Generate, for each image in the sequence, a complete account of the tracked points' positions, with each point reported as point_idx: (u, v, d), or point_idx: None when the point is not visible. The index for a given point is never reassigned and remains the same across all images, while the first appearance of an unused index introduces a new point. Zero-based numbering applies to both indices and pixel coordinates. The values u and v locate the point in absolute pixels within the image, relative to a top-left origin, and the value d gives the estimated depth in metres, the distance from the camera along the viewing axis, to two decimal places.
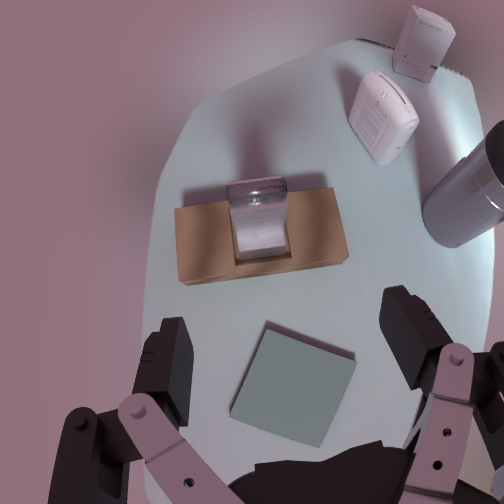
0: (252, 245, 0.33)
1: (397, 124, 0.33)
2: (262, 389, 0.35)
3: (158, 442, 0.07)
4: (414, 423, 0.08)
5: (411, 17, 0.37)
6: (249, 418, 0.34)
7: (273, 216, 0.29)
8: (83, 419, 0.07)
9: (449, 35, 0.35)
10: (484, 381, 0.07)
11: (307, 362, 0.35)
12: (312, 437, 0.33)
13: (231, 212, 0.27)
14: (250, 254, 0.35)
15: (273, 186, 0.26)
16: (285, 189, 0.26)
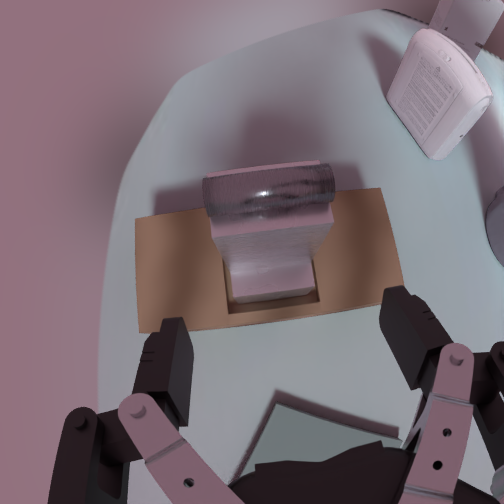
0: (256, 286, 0.19)
1: (467, 101, 0.19)
2: None
3: (158, 442, 0.07)
4: (414, 423, 0.08)
5: None
6: None
7: (299, 241, 0.15)
8: (83, 419, 0.07)
9: (498, 7, 0.21)
10: (484, 381, 0.07)
11: (334, 447, 0.21)
12: None
13: (214, 236, 0.12)
14: (253, 298, 0.20)
15: (306, 181, 0.11)
16: (331, 188, 0.12)
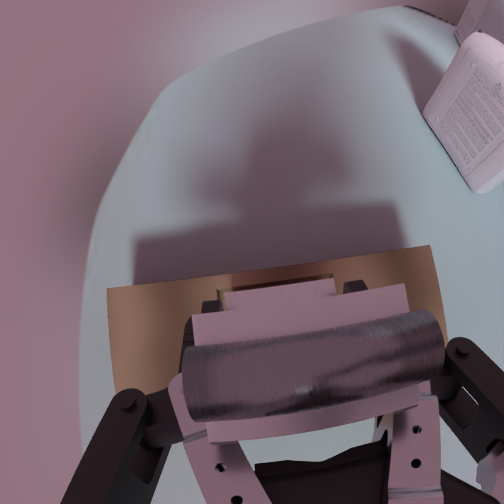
0: None
1: None
2: None
3: (201, 422, 0.07)
4: (377, 422, 0.08)
5: None
6: None
7: None
8: (132, 401, 0.08)
9: None
10: (438, 377, 0.08)
11: None
12: None
13: (213, 440, 0.06)
14: None
15: (398, 369, 0.05)
16: (436, 371, 0.05)
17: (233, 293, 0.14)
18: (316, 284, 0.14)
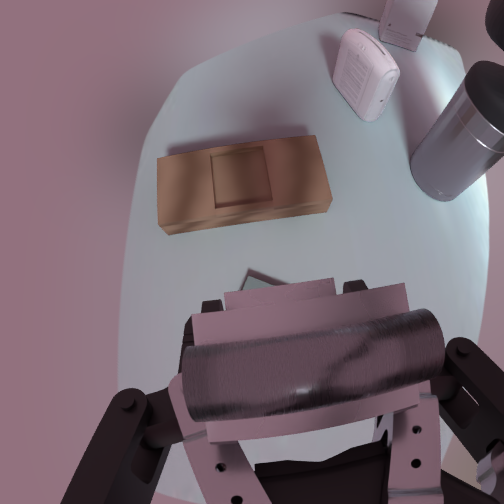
0: None
1: (377, 74, 0.32)
2: None
3: (201, 422, 0.07)
4: (377, 422, 0.08)
5: None
6: None
7: None
8: (132, 401, 0.08)
9: (432, 2, 0.33)
10: (438, 377, 0.08)
11: None
12: None
13: (213, 439, 0.06)
14: None
15: (398, 369, 0.05)
16: (437, 370, 0.05)
17: (232, 293, 0.14)
18: (316, 284, 0.14)
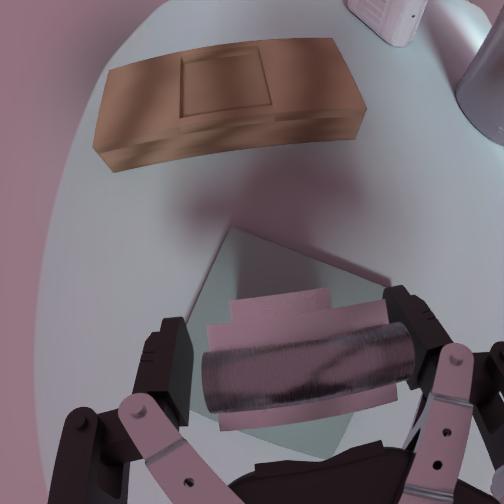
0: None
1: None
2: None
3: (158, 442, 0.07)
4: (414, 423, 0.08)
5: None
6: (195, 399, 0.18)
7: None
8: (83, 419, 0.07)
9: None
10: (484, 381, 0.07)
11: None
12: (317, 439, 0.17)
13: (224, 429, 0.07)
14: None
15: (374, 371, 0.06)
16: (408, 373, 0.06)
17: (237, 301, 0.15)
18: (313, 293, 0.15)
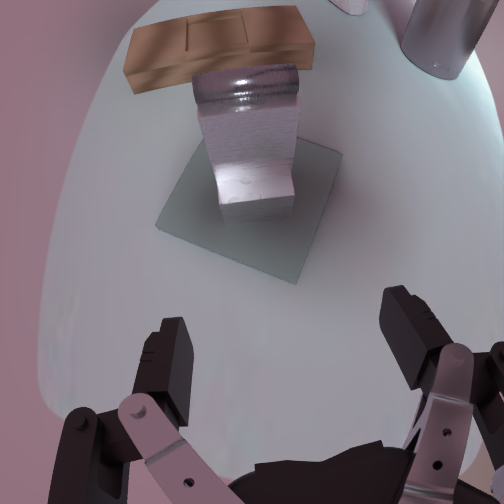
0: (241, 194, 0.20)
1: None
2: (206, 183, 0.25)
3: (158, 442, 0.07)
4: (414, 423, 0.08)
5: None
6: (184, 226, 0.24)
7: (275, 134, 0.16)
8: (83, 419, 0.07)
9: None
10: (484, 381, 0.07)
11: None
12: (283, 260, 0.23)
13: (200, 117, 0.14)
14: (238, 212, 0.22)
15: (274, 71, 0.13)
16: (295, 76, 0.13)
17: None
18: None
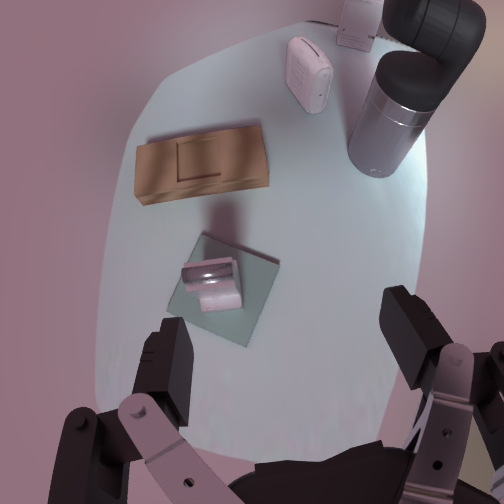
0: (212, 306, 0.38)
1: (312, 73, 0.41)
2: None
3: (158, 442, 0.07)
4: (414, 423, 0.08)
5: None
6: (183, 313, 0.42)
7: (225, 290, 0.33)
8: (83, 419, 0.07)
9: (379, 6, 0.43)
10: (484, 381, 0.07)
11: None
12: (239, 334, 0.40)
13: (187, 290, 0.31)
14: (212, 311, 0.39)
15: (220, 271, 0.30)
16: (231, 274, 0.30)
17: None
18: None
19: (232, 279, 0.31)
